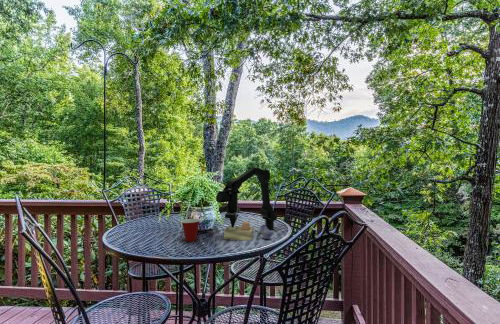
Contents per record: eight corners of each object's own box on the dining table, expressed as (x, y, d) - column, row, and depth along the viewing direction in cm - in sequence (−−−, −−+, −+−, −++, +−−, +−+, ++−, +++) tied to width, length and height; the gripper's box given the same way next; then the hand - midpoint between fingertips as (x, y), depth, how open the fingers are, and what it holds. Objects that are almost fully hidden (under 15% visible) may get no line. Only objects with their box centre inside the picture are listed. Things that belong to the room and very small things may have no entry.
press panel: (227, 233, 194) (227, 226, 194) (253, 234, 192) (253, 226, 192) (224, 239, 182) (224, 231, 182) (251, 240, 180) (251, 232, 180)
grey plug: (229, 234, 190) (229, 226, 189) (236, 234, 189) (236, 226, 189) (228, 236, 186) (228, 227, 185) (235, 236, 185) (235, 228, 185)
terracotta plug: (243, 229, 188) (243, 221, 188) (249, 230, 188) (249, 221, 188) (242, 231, 184) (242, 223, 184) (248, 231, 184) (248, 223, 184)
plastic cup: (191, 236, 188) (191, 216, 187) (203, 240, 181) (203, 219, 180) (176, 240, 179) (176, 219, 179) (189, 244, 172) (189, 222, 172)
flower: (255, 230, 178) (268, 220, 182) (251, 232, 186) (264, 223, 190) (264, 244, 177) (277, 234, 181) (260, 246, 184) (273, 236, 188)
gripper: (222, 198, 197) (222, 222, 197) (216, 203, 178) (216, 230, 179) (240, 198, 195) (240, 223, 196) (235, 204, 177) (235, 231, 177)
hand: (232, 227), depth 187 cm, fingers closed, pressing on grey plug
